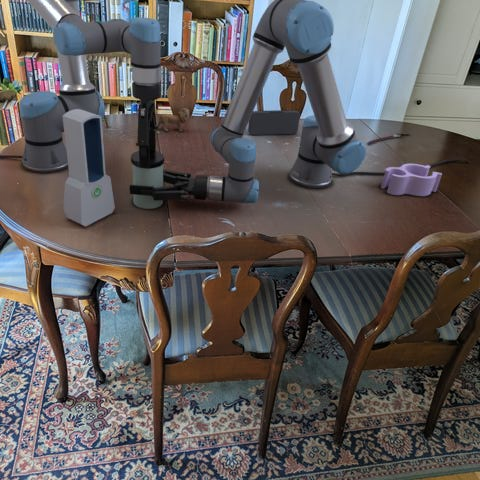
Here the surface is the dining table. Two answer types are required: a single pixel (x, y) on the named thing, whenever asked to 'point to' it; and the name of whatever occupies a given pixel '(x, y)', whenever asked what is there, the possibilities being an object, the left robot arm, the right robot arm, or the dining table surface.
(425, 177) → the clip
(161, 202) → the jar
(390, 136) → the sword
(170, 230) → the dining table surface
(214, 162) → the dining table surface
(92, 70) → the miniature windmill
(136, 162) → the lid
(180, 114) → the lion figurine
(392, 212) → the dining table surface
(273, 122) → the handheld gaming console
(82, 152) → the electronic device
